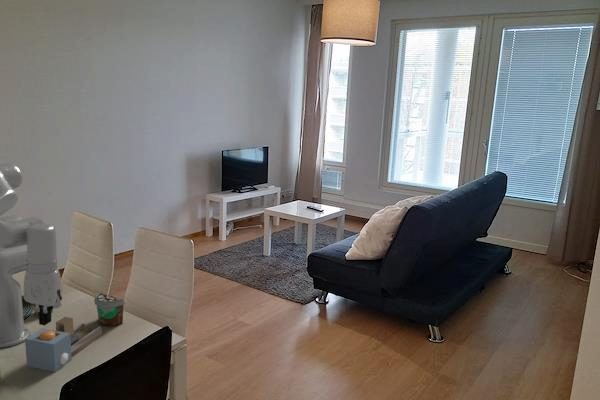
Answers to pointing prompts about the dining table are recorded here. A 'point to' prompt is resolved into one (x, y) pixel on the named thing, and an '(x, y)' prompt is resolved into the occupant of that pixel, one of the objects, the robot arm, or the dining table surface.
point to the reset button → (47, 335)
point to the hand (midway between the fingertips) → (45, 322)
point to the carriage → (67, 328)
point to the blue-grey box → (48, 351)
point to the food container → (109, 310)
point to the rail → (84, 338)
